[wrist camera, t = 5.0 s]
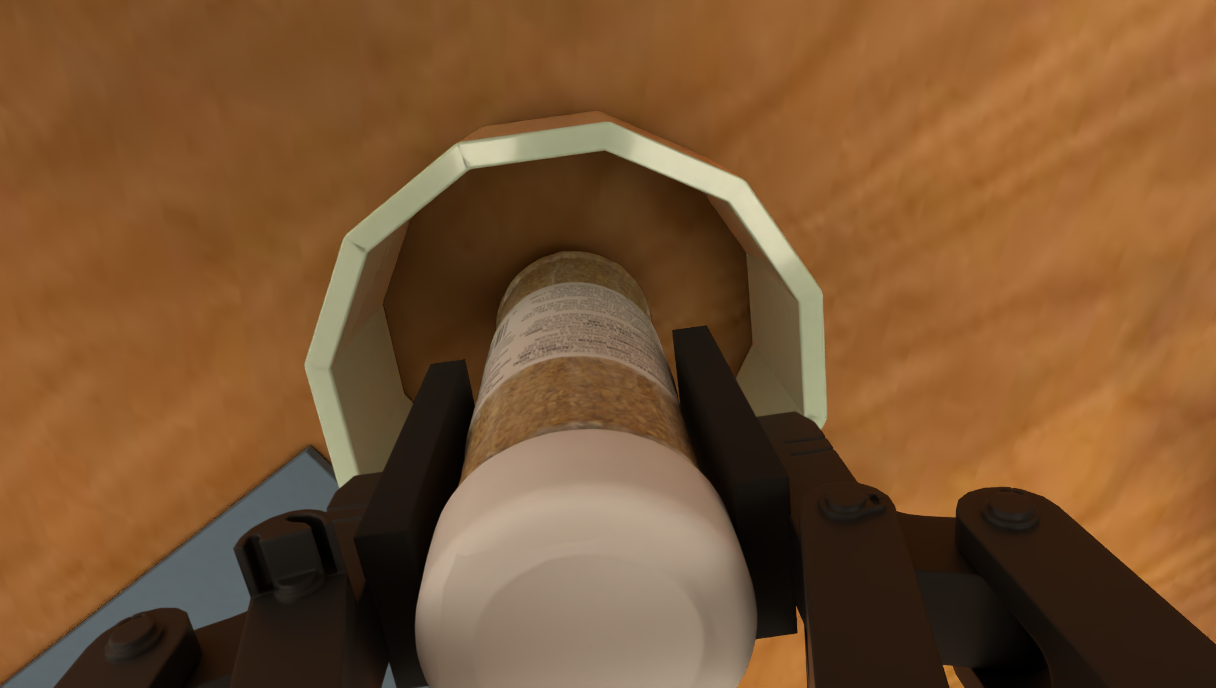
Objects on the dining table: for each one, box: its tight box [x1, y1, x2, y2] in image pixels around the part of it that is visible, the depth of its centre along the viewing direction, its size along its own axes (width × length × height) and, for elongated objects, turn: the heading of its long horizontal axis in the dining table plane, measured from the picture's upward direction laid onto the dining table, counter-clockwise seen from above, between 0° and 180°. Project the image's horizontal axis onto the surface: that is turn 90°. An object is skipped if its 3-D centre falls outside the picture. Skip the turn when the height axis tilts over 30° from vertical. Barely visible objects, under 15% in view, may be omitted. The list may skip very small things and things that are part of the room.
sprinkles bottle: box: [415, 251, 757, 688], centre depth 16 cm, size 5×5×13 cm
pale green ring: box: [305, 111, 827, 488], centre depth 21 cm, size 12×12×6 cm
